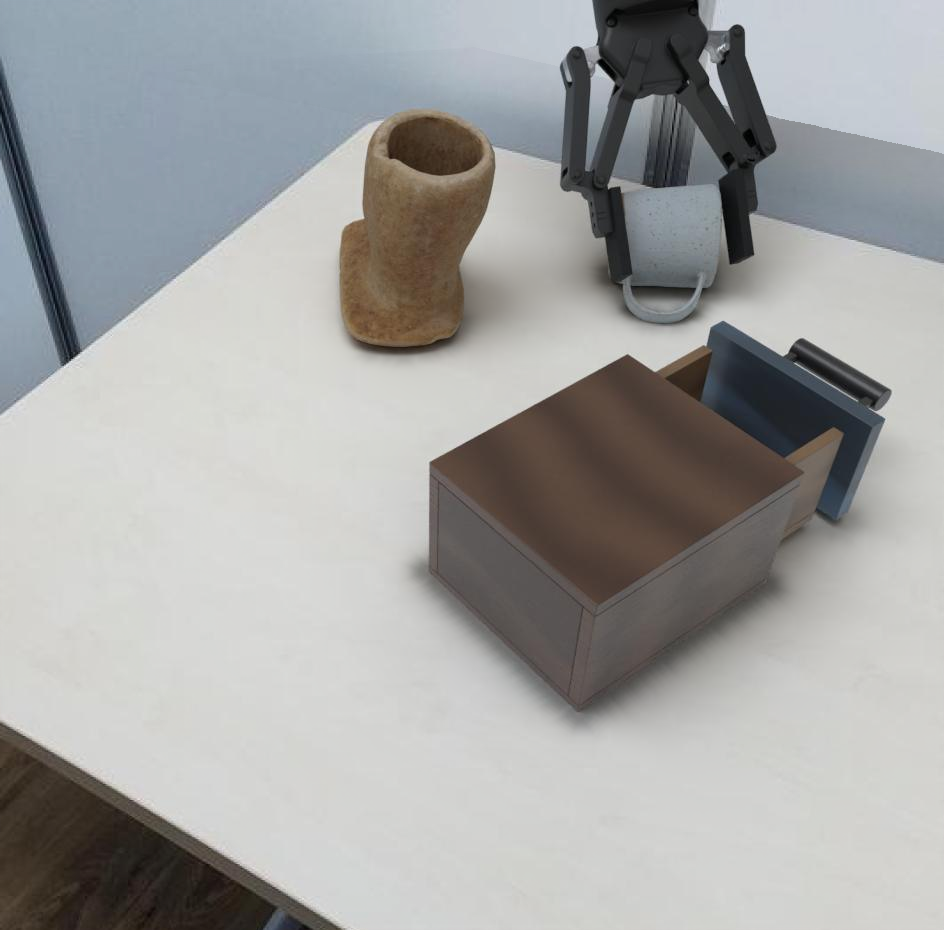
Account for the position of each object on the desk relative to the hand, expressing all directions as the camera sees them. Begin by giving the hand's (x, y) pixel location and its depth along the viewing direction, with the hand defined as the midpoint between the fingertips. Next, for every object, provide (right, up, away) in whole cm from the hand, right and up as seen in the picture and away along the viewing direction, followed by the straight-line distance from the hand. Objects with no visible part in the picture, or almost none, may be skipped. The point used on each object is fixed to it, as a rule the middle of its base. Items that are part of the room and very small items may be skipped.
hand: (682, 269), depth 86 cm
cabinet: (-10, -24, -15) cm, 30 cm away
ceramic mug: (0, 0, +5) cm, 5 cm away
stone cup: (-20, -1, +6) cm, 21 cm away
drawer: (-1, -18, -12) cm, 21 cm away
